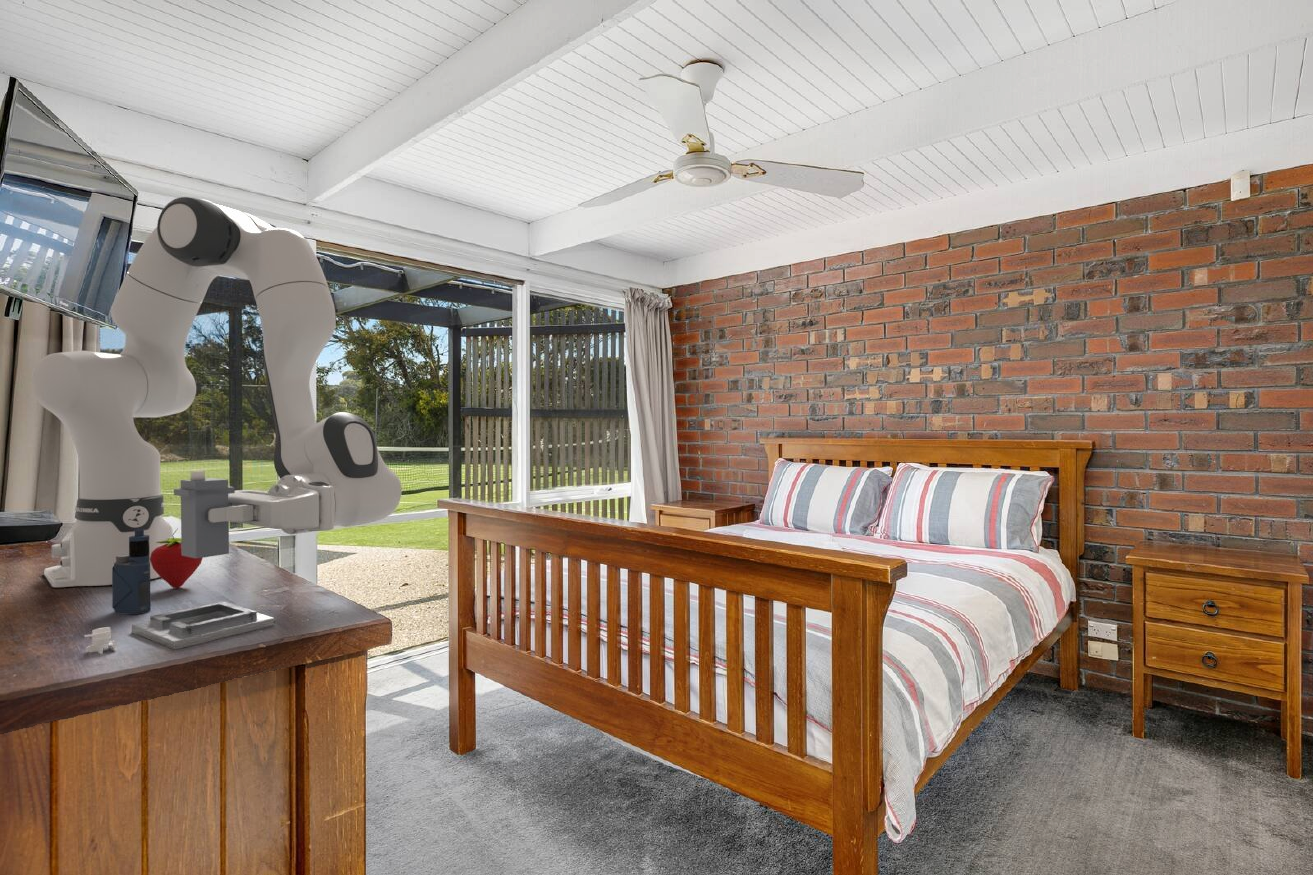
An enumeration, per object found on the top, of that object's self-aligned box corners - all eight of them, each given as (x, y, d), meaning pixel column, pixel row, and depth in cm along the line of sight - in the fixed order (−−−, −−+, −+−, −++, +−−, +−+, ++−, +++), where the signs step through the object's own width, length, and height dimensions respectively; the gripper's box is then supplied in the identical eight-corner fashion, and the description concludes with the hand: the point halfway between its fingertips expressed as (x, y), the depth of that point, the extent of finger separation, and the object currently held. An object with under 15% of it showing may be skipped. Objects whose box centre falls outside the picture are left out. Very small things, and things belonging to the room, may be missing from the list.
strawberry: (211, 586, 113) (211, 526, 113) (159, 595, 107) (158, 532, 107) (194, 581, 117) (194, 523, 116) (143, 590, 110) (142, 529, 110)
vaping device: (138, 615, 96) (137, 531, 96) (108, 613, 97) (107, 530, 97) (155, 610, 99) (154, 528, 98) (125, 608, 100) (125, 527, 100)
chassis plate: (131, 632, 89) (131, 617, 89) (229, 611, 99) (229, 597, 99) (174, 649, 82) (174, 633, 82) (274, 625, 93) (274, 610, 92)
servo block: (174, 556, 89) (173, 471, 89) (220, 549, 94) (219, 469, 94) (189, 559, 87) (188, 472, 87) (235, 552, 92) (234, 470, 91)
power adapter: (114, 649, 83) (113, 624, 83) (119, 654, 82) (119, 628, 82) (82, 656, 81) (82, 630, 81) (87, 661, 79) (87, 634, 79)
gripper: (262, 479, 107) (161, 485, 95) (339, 486, 96) (236, 495, 84) (262, 518, 107) (161, 530, 95) (339, 530, 96) (236, 545, 84)
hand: (197, 514), depth 89 cm, fingers closed on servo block, 4 cm apart
